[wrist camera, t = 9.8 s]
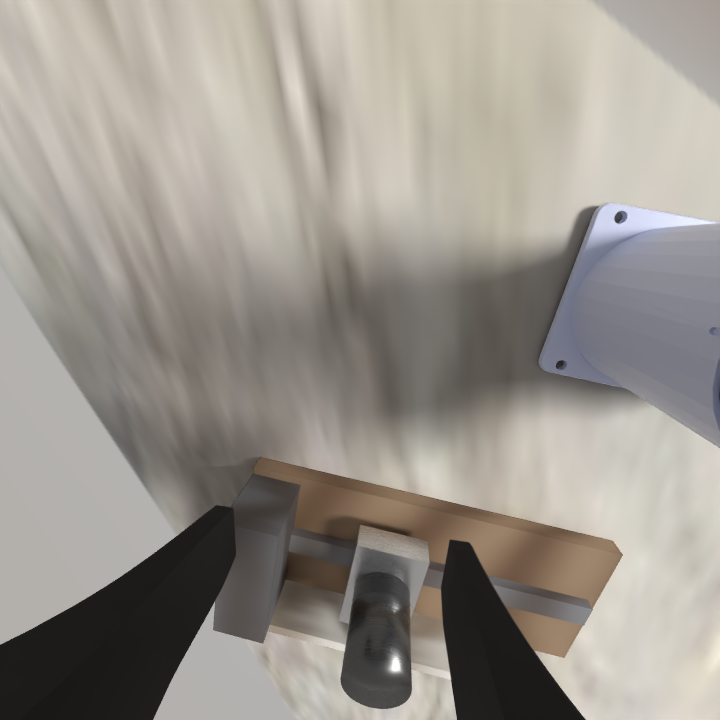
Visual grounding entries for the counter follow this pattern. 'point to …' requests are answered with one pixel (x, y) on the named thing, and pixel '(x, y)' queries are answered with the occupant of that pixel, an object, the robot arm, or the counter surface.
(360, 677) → the gauge slider
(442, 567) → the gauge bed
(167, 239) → the counter surface
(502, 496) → the counter surface
